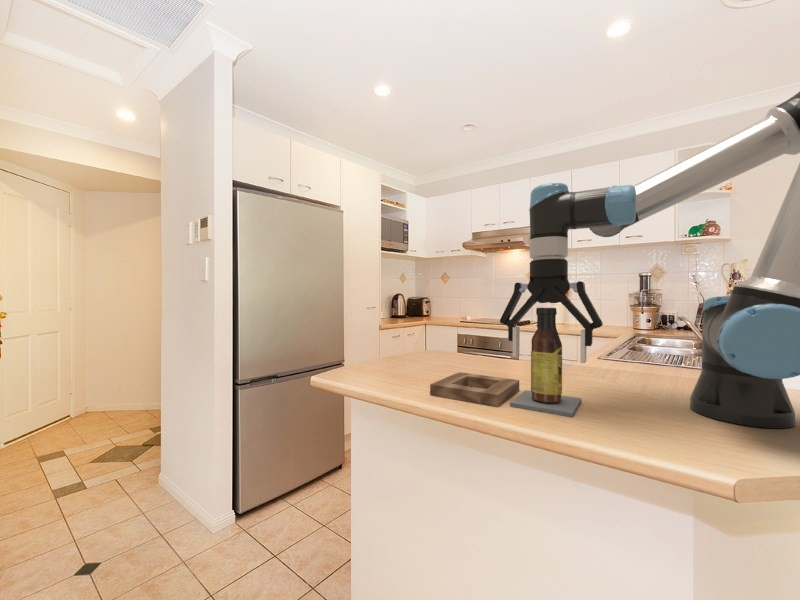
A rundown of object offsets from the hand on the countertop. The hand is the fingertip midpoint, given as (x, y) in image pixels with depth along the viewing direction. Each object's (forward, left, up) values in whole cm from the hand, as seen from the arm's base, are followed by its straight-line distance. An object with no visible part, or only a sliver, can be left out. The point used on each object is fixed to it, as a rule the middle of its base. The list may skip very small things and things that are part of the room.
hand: (548, 359), depth 79 cm
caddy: (+16, 0, -10) cm, 19 cm away
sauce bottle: (0, 0, -9) cm, 9 cm away
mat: (0, 0, -10) cm, 10 cm away
